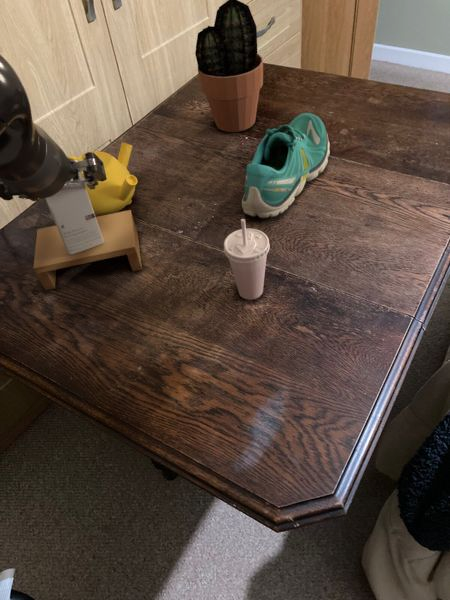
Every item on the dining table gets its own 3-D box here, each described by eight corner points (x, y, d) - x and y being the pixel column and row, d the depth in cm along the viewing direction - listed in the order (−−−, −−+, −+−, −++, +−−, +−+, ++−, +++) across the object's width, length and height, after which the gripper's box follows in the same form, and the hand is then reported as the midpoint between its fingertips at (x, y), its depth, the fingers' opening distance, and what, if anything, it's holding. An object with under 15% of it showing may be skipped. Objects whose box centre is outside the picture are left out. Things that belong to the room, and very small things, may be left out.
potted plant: (221, 105, 117) (208, -15, 99) (275, 111, 112) (271, -13, 94) (194, 133, 110) (174, 9, 91) (250, 142, 105) (241, 12, 86)
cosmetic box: (69, 256, 77) (40, 192, 68) (62, 241, 80) (34, 177, 71) (106, 242, 79) (82, 177, 70) (98, 227, 82) (75, 163, 73)
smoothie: (225, 303, 74) (214, 231, 64) (235, 274, 78) (226, 201, 68) (267, 308, 72) (263, 234, 62) (275, 277, 76) (272, 204, 66)
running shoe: (340, 145, 100) (344, 90, 92) (291, 232, 83) (291, 174, 75) (288, 138, 104) (287, 84, 96) (232, 219, 87) (225, 163, 79)
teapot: (147, 220, 90) (133, 167, 82) (73, 236, 89) (51, 183, 81) (141, 178, 100) (127, 127, 91) (74, 192, 99) (54, 141, 91)
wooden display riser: (45, 290, 80) (33, 268, 76) (48, 251, 87) (37, 229, 83) (142, 269, 81) (134, 246, 77) (137, 232, 88) (130, 209, 84)
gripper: (81, 115, 57) (105, 154, 73) (-43, 139, 56) (9, 173, 73) (95, 179, 57) (116, 203, 74) (-28, 204, 57) (21, 223, 73)
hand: (63, 188), depth 73 cm, fingers open, 8 cm apart
